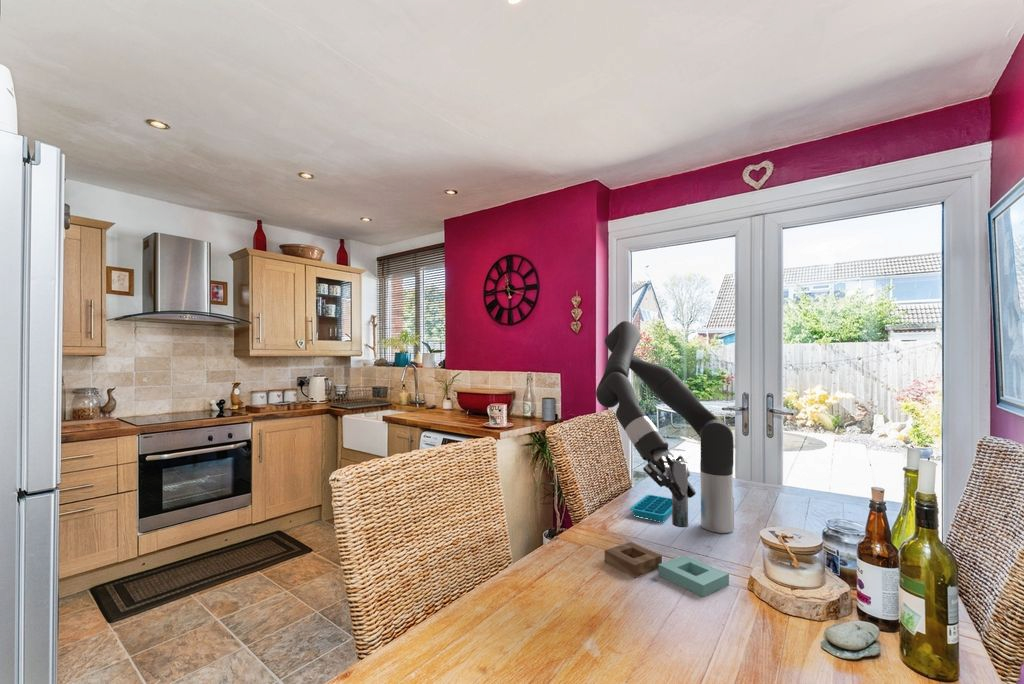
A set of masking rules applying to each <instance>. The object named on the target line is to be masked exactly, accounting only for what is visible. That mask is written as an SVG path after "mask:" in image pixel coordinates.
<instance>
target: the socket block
mask: <svg viewBox="0 0 1024 684" xmlns="http://www.w3.org/2000/svg"><path fill="white" fill-rule="evenodd" d="M604 563H606V564H608V565H610V566H612V567H613V568H615V569H618V570H619V571H621V572H623V573H625V574H627V575H628V576H630V577H633V578H634V579H637V578H639V577H641V576H644V575H647V574H649V573H651V572H654V571H656V570H658V564H661V563H663V555H662V554H660V553H657V552H655V551H653V550H651V549H649V548H646V547H644V546H642V545H640V544H637V543H635V542H633V541H629V542H625V543H623V544H620V545H617V546H613V547H610V548H607V549H604Z"/></svg>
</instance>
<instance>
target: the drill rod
mask: <svg viewBox="0 0 1024 684" xmlns="http://www.w3.org/2000/svg"><path fill="white" fill-rule="evenodd" d="M688 470H689V467H688V462H687V461H685V460H684V461H672V477H673V479H674V481H675V482H674V483H677V484H678V486H679V487H680V489H681V490H682V492H683V493H684V495H685V498H684V499H683V500H681V501H677V499H676V498H675V497H674V496H673V494H672V493H671V498H672V514H671V515H672V516H671V524H672V525H673V526H674V527H677V528H682V529H683V528H688V527H689V504H688V503H689V498H688V482H689V477H688Z"/></svg>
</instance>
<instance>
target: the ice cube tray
mask: <svg viewBox="0 0 1024 684" xmlns="http://www.w3.org/2000/svg"><path fill="white" fill-rule="evenodd" d="M629 508H630V510H631V511H632V514H633V516H634V515H635V516H639V517H643V518H648V519H652V520H656V521H660V522H659V523H664V522H665V521H667V519H668V518H669V517H670V516H671V515H672V514H671V513H672V497H665V496H660V495H654V494H646V495H645V496H644V497H642V498H641V499H640V500H638V501H637V502H636V503H634V504H633V505H632V506H631V507H629ZM670 514H671V515H670ZM669 515H670V516H669ZM668 516H669V517H668ZM667 517H668V518H667ZM666 518H667V519H666ZM656 521H655V522H656ZM663 521H664V522H663Z"/></svg>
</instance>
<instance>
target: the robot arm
mask: <svg viewBox="0 0 1024 684" xmlns="http://www.w3.org/2000/svg"><path fill="white" fill-rule="evenodd" d="M641 338H642V335H641V332H640V330H639V328H638V327H637V326H636V325H635V324H633V323H632V322H630V321H626V320H624V321H623V320H622V321H621V322H619V323H618V324H617V325H616V326H615V327H614V328H613V329H612V330H611V331H610V332H609V334H607V336H606V337H605V338H604V344H605V346H606V347H607V349H608V350H609V351H610V352H611V354H610V355H609V357H608V358H607V362H606V364H605V369H604V373H603V375H602V378H601V379H600V381H599V383H598V385H597V387H596V391H595V397H596V400H597V402H598V403H599V404H600V405H601V406H602V407H604V408H611V409H612V408H614V407H615V406H617V405H618V407H617V409H616V411H615V416H616V419H617V421H618V422H619V424H620V426H621V427H622V428H623V430H624V431H625V433H626V435H627V437H628V439H629V440H630V442H631V444H632V445H633V447H634V448H635V450H636V451H637V452H638V454H639V455H640V457H641V458H642V460H643V461H646V462H647V463H646V464H645V466H644V467H643V469H642V470H643V471H644V473H646V474H647V475H648V476H649V477H650V478H651V479H652V480H653V481H654V482H655V483H656V484H657V486H659V487H660V488H662V487H665V488H666V489H667V488H668V490H669V491H670V492H671V495H672V494H673V496H674V497H675V498H676V499H677V501H681V500H683V499H684V498H685V495H684V493H683V492H682V490H681V489H680V487H679V486H678V484H677V483H674V482H675V481H674V479H673V477H672V461H685V459H684V457H683V456H682V455H678V456H674V455H673V454H672V453H671V451H670V450H669V443H668V441H667V440H666V438H664V436H663V434H661V432H660V431H659V429H658V428H657V426H656V425H655V424H654V422H653V421H652V420H651V418H650V417H648V415H647V414H646V413H645V411H644V410H643V408H642V407H641V406H640V403H639V401H638V398H637V396H636V394H635V391H634V388H633V385H632V382H631V381H630V379H629V378H628V377H629V374H630V370H631V371H632V372H633V373H634V374H635V375H636V376H637V377H638V378H639V379H640V380H641V381H642V382H643V383H644V384H645V385H646V386H647V387H648V389H650V390H651V391H652V392H653V393H654V394H655V395H656V396H657V398H658V399H659V400H660V401H662V402H663V403H664V404H665V405H666V406H667V407H669V409H671V411H672V410H673V411H674V412H675V413H676V414H678V415H679V416H680V417H682V418H683V419H684V420H685V421H686V422H687V423H688V425H690V427H691V428H692V429H693V430H694V431H695V433H696V434H697V435H698V436H699V438H700V465H699V466H700V526H701V528H702V529H705V530H706V531H709V532H713V533H719V534H729V533H733V531H734V529H735V498H734V485H733V482H734V481H733V476H734V473H733V472H734V446H735V445H734V434H733V432H732V430H731V428H730V427H729V426H728V424H726V422H724V421H723V420H721V419H720V418H718V416H716V415H715V414H713V413H712V412H711V411H710V410H709V409H707V408H706V407H705V406H704V405H703V404H702V403H701V402H700V401H699V399H698V398H697V397H696V395H695V394H694V393H693V391H692V390H691V389H690V388H689V387H688V386H687V385H686V384H685V383H684V381H683V380H682V379H681V378H680V377H679V376H678V375H677V374H676V373H674V372H673V370H671V369H670V368H668V367H666V366H663V365H659V364H656V363H652V362H648V361H645V360H643V359H641V358H639V356H636V355H635V354H634V353H635V351H636V349H637V346H638V345H639V342H640V340H641ZM690 476H691V473H690V470H689V469H688V478H689V477H690ZM696 493H697V492H696V491H695V489H694V488H693V486H692V484H691V483H690V482H689V481H688V499H690V498H693V497H694V496H695V495H696Z"/></svg>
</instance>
